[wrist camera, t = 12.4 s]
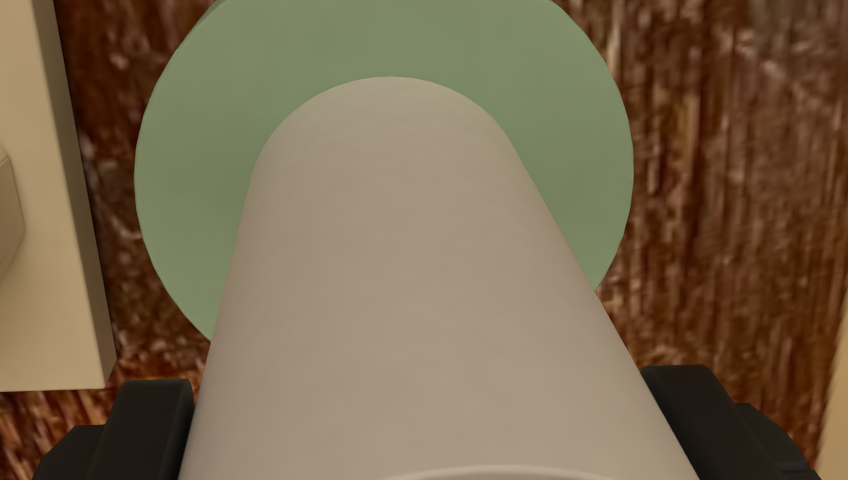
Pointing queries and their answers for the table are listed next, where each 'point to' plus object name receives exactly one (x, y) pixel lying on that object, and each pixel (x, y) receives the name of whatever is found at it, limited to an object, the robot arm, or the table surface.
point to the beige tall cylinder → (413, 313)
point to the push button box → (45, 219)
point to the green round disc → (359, 59)
